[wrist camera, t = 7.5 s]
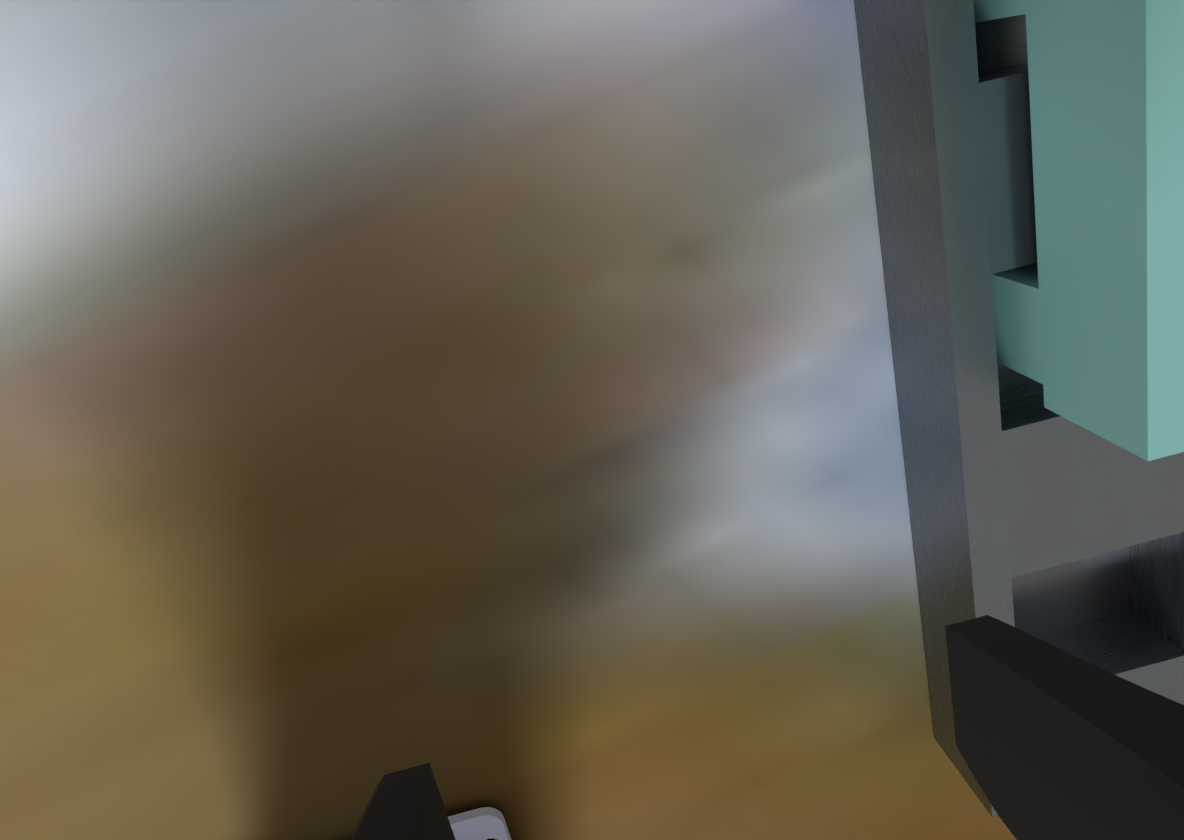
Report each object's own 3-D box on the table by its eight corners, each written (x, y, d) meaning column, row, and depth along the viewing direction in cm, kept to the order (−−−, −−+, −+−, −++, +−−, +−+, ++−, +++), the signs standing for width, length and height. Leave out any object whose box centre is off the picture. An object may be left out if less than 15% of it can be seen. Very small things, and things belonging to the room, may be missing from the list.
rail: (1136, 682, 25) (1218, 754, 23) (934, 737, 25) (992, 816, 22) (1125, -341, 17) (1254, -429, 14) (824, -273, 17) (894, -350, 14)
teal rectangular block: (1097, 345, 21) (1300, 421, 16) (981, 374, 21) (1147, 461, 16) (1085, -146, 17) (1339, -252, 12) (946, -114, 17) (1144, -208, 12)
